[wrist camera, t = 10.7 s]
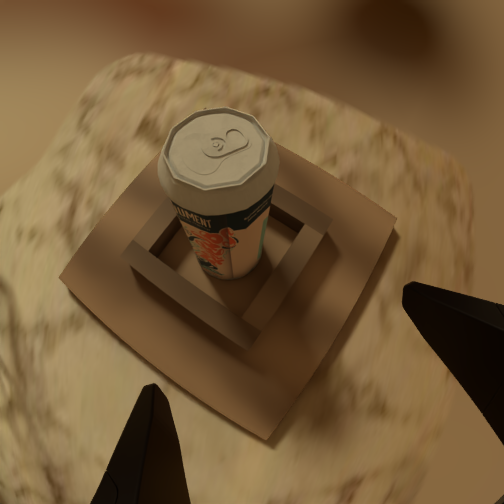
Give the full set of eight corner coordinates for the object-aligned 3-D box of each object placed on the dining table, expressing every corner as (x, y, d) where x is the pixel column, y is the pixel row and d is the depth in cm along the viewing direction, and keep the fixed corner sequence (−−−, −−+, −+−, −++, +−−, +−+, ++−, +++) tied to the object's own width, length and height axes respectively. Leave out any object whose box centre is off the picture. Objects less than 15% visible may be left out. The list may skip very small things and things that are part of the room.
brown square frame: (264, 435, 19) (268, 449, 16) (65, 281, 22) (45, 271, 19) (391, 223, 24) (408, 208, 21) (206, 116, 27) (203, 93, 24)
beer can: (185, 236, 22) (136, 128, 10) (242, 208, 23) (243, 86, 11) (213, 293, 21) (180, 226, 9) (274, 262, 22) (308, 167, 10)
